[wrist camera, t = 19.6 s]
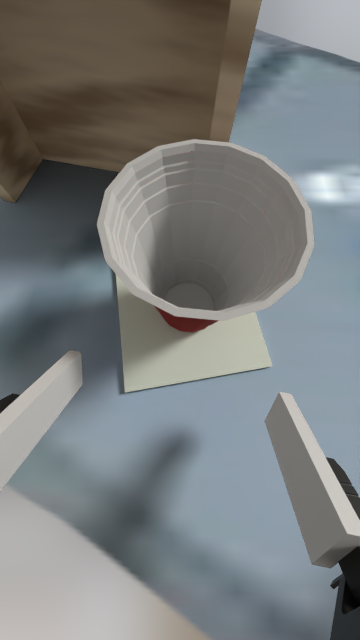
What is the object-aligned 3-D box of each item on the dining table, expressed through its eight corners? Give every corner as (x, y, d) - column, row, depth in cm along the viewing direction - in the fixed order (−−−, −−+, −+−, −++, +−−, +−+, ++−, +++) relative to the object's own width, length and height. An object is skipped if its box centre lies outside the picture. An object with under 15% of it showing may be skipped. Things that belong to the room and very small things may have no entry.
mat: (270, 366, 20) (272, 366, 19) (126, 392, 18) (124, 392, 18) (233, 250, 24) (234, 247, 24) (116, 264, 23) (115, 261, 22)
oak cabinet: (206, 236, 25) (318, -244, 6) (3, 200, 25) (-470, -349, 7) (219, 160, 30) (302, -232, 11) (49, 131, 30) (-145, -292, 12)
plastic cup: (118, 341, 19) (46, 270, 8) (155, 253, 23) (140, 121, 12) (227, 375, 19) (314, 348, 8) (247, 279, 22) (325, 165, 11)
